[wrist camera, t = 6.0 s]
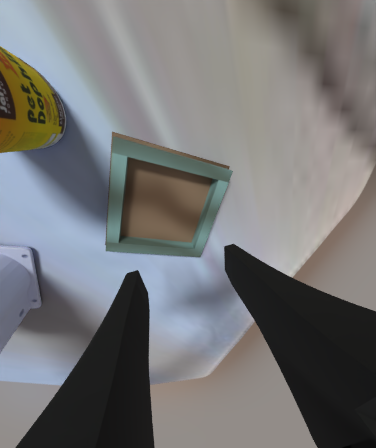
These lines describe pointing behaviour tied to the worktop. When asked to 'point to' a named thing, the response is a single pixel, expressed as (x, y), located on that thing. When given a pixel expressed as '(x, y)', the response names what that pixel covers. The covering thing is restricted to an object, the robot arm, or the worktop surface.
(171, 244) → the teal picture frame
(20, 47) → the worktop surface
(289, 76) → the worktop surface
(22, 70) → the supplement bottle
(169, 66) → the worktop surface
